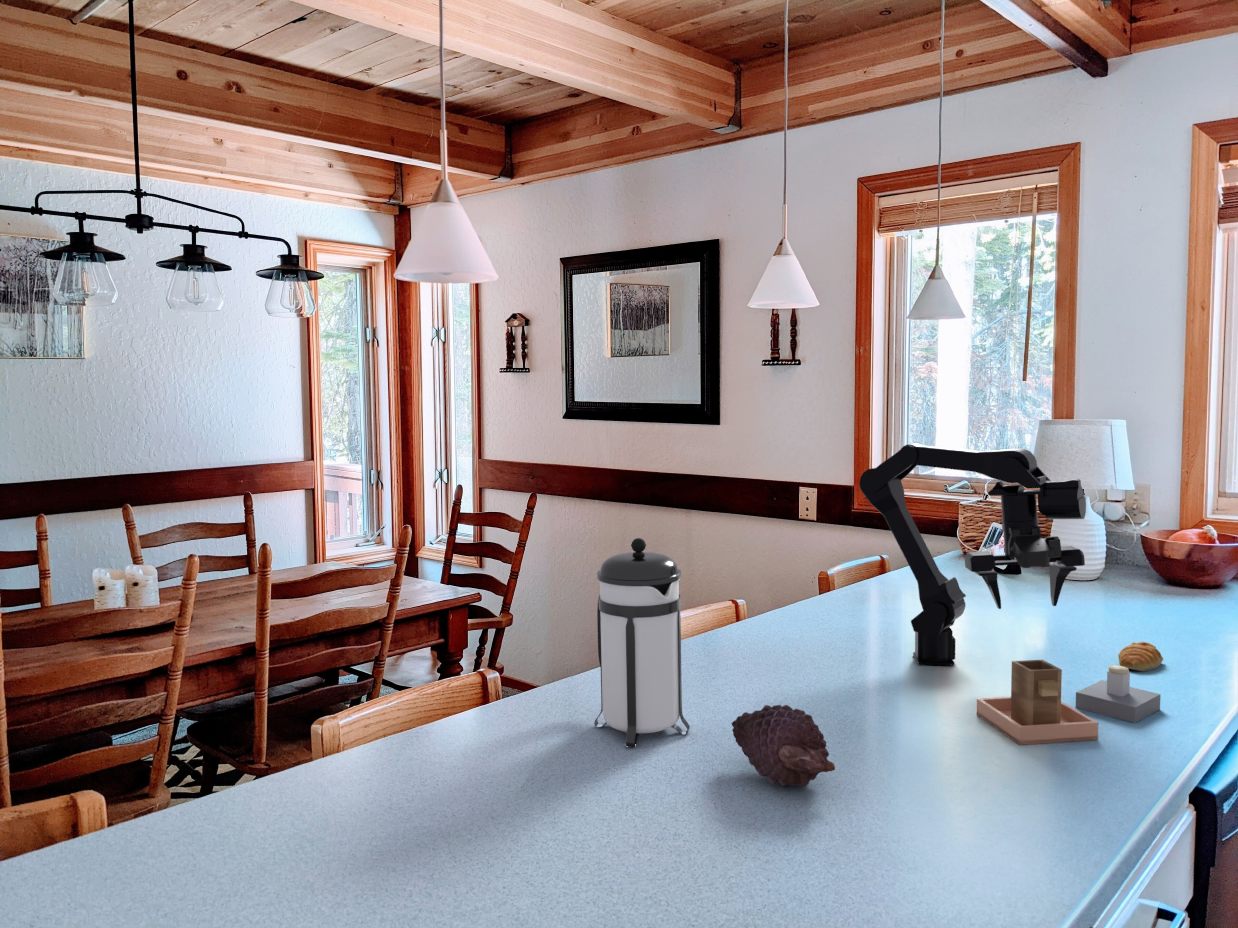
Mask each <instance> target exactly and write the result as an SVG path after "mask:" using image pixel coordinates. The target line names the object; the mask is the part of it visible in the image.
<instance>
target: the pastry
mask: <svg viewBox="0 0 1238 928" xmlns="http://www.w3.org/2000/svg"><path fill="white" fill-rule="evenodd" d="M1117 656H1118V661H1119V666H1123V667H1126V668H1128V669H1131V670H1134V671H1138V672H1139V671H1140V672H1146V671H1154V670H1155V669H1156V668H1158V667H1159V666H1160V665H1162V662H1163V661H1164V657H1163V655H1162V654H1161V652H1160V651H1159V650H1158V649H1157V646H1155V645H1153V644H1151V643H1149V642H1146V641H1138V642H1131V644H1128V645H1127V646H1125V647H1123V648H1122V649H1121V650H1120V652H1119V653H1118V655H1117Z"/></svg>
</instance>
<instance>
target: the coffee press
mask: <svg viewBox="0 0 1238 928" xmlns="http://www.w3.org/2000/svg"><path fill="white" fill-rule="evenodd" d="M630 547H631V549H632V551H633V552H632V551H631V552H624V553H623V552H622V553H619V554H618V553H617V554H615V555H611V556H609V557H608V558H606V559H605V560H604V561H603V562H602V564H601V566H600V568H599V570H598V571H597V572H596V579H597V581H598V582H599V596H598V600H597V610H596V611H597V614H596V615H597V616H596V617H597V624H596V625H597V652H598V661H599V662H598V663H599V666H600V695H601V696H600V697H601V698H600V700H601V706H600V707H601V710H600V712H599V714H598V716H597V717H596V718H595V720H594V724H593V725H594V726H595V727H596V726H597V725H598V724H600V723H599V721H598V719H599V717H600V716H601V715H602V717H603V719H604V723H603V726H602V728H604V727H605V726H606V725H608V726H609V727H611V728H613V729H615V730H617V731H621V732H624V733H626V739H625V747H626V746H628V747H627V748H633V747H635V744H637V745H638V739H639V736H640V734H651V733H652V734H653V733H657V732H661V731H665V730H668V729H670V728H673V729H674V730H676V731H677V732H678V733H679V734H680V735H681V734H682V732H683V731H684V730H683V729H682V728H681V727H680V726H679V725H678V724H676V723H677V722H678V721H679V719H680V721H681V722H682V724H683V725H684V726H685V728H686V729H687V730H685V731H686V735H687V734H688V733H689V731H690V729H691V727H690V724H689V723H688V721H687V720H686V719H685V717H684V714H683V702H682V701H683V695H682V691H683V689H682V688H683V687H682V636H681V635H682V634H681V633H682V628H681V627H682V626H681V622H682V621H681V619H682V618H681V617H682V616H681V594H680V593H679V592H680V591H679V589H680V588H679V583H680V580H681V578H682V571H681V570H680V569H679V568H678V565H677V563H676V561H675V560H674V559H673V558H672V557H670V556H668V555H665V554H663V553H657V552H650V551H644V550H646V547H647V544H646V541H645V540H644V539H642V538H641V537H637V538H634V539H633V540H632V541H631V544H630Z"/></svg>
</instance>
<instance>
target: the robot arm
mask: <svg viewBox="0 0 1238 928" xmlns="http://www.w3.org/2000/svg"><path fill="white" fill-rule="evenodd" d="M917 466H921V467H930V468H939V469H945V470H947V469H948V470H957V471H964V472H966V471H967V472H971V473H972V472H973V473H978V474H981V475H983V476H985V477H988V478H991V479H994V480H997V482H996V483H995V484H994V486H993V487H992V489H990V490H988V493H987V495H988V496H989V497H990V496H994V497H995V496H1000V501H1001V502H1000V504H1001V514H1002V515H1001V518H1002V524H1001V528H1002V530H1001V531H1003V543H1004V545H1003V553H1004V554H993V553H991V552H990V551H988V550H985V551H984V550H983V551H982V550H981V551H980V550H979V551H970V552H969V551H968V552H967V553H966V554H965V555H964V567H965V569H967V570H968V571H970V572H972V573H975V574H976V575H978V576H980V577H981V578H982V579H983V581H984V583H985V584H986V586H987V588H988V590H989V592H990V595H991V597H992V599H993V601H994V603H995V605H996V607H997V609H998V610H1002V599H1001V594H1000V588H999V583H998V572H997V571H995V570H994V569H995V567H996V566H1012V565H1015V566H1016V565H1018V566H1019V567H1020V568H1023V569H1030V568H1035V567H1041V568H1046V567H1049V590H1050V594H1049V595H1050V601H1051V605H1052V606H1053V607H1056V606H1057V604H1058V602H1059V599H1060V595H1061V591H1062V590H1063V589H1062V588H1063V585H1064V583H1065V581H1066V579H1067V577H1068V576H1069V574H1070V573H1072V572H1077V569H1078V568H1077V567H1081V566H1082V567H1083V566H1086V564H1085V554H1084V553H1083V550H1081V549H1080V548H1078V547H1076V546H1075V547H1074V546H1072V545H1068V546H1067V545H1063V546H1062V544H1061V539H1060V537H1059V536H1046V537H1045V538H1043V535H1042V532H1041V527H1040V525H1039V516H1038V515H1039V514H1038V513H1040V514H1041V515H1042V516H1045V518H1046V519H1047V520H1084V519H1085V517H1086V513H1087V501H1086V500H1087V497H1086V496H1085V494H1084V489H1083V487H1082V483H1081V482H1082V480H1081V479H1080V478H1074V479H1069V480H1053V481H1052V480H1051V479H1050V478H1049V477H1048V476H1047V475H1046V474H1045V472H1043V471H1042V469H1040V467H1039V466H1038V463H1037V459H1036V456H1035V455H1034V454H1033V453H1032V452H1031V451H1030V450H1029V449H1026V448H1021V447H1020V448H1006V449H994V450H972V449H963V448H954V447H953V448H952V447H945V446H944V447H943V446H933V445H924V444H921V443H916V442H915V443H909V444H905V445H903V446H902V447H900V449H899V450H898V451H897V452H895V453H894V454H893V455H892V456H890V457H889V458H887V459H885V460H884V461H883V462H881V463H880V464H879V465H877V467H872V468H869V469H866V470H865V471H864V472H863V473H862V474H861V476H860V478H859V481H858V487H859V489H860V491H861V493H862V494H863V496H864V497H865V498H866V499H867V501H868V502H869V504H871V506H872V507H874V509H876V510H877V511H878V512H879V513H880V514H881V515H882V516H883V517H884V520H885V521H886V524H887V525H888V527H889V529H890V532H891V533H892V535H893V537H894V539H895V541H896V543H897V545H898V547H899V549H900V551H901V553H902V554H903V556H904V559H905V560H906V562H907V563H906V564H907V565H908V566H909V568H910V571H911V573H913V576H914V578H915V580H916V582H917V587H918V597H919V602H920V605H921V608H922V611H921V612H920V613H919V614H918V615H916V616H915V617H914V618H912V619H911V620H910V625H911V627H912V630H913V632H914V634H915V635H914V645H915V646H914V652H912V655H913V656H912V657H914V659H915V661H916V663H917V664H918V665H922V666H923V665H927V666H928V665H929V666H932V665H934V666H955V660H956V638H955V637H954V635H953V630H952V628H951V627H952V626H954V624H955V621H956V620H957V619H959V618H960V617H961V616H962V615H963V614H964V613H965V609H966V601H965V599H964V598H966V597H967V595H966V593H964V591H962V589H961V586H960V585H959V582H958V579H957V578H956V577H955V576H954V577H952V578H950V579H948V577H946V576H945V575H944V574H943V573H942V572H941V571H940V569H939V567H938V565H937V563H936V561H935V559H934V558H933V555H932V554H931V552H930V550H929V548H928V545H927V544H926V542H925V540H924V538H923V536H922V534H921V533H920V531H919V529H918V527H917V525H916V523H915V521H914V519H913V517H912V515H911V513H910V511H909V510H908V507H907V505H906V498H905V488H904V486H903V483H902V481H903V480H904V479H905V478H906V477H907V476H909V474H910V473H911V472H912V471H913V470H914V469H915V468H916V467H917ZM1004 482H1005V483H1008V484H1009V483H1010V484H1011V485H1010V484H1009V485H1008V484H1005V483H1004Z"/></svg>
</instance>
